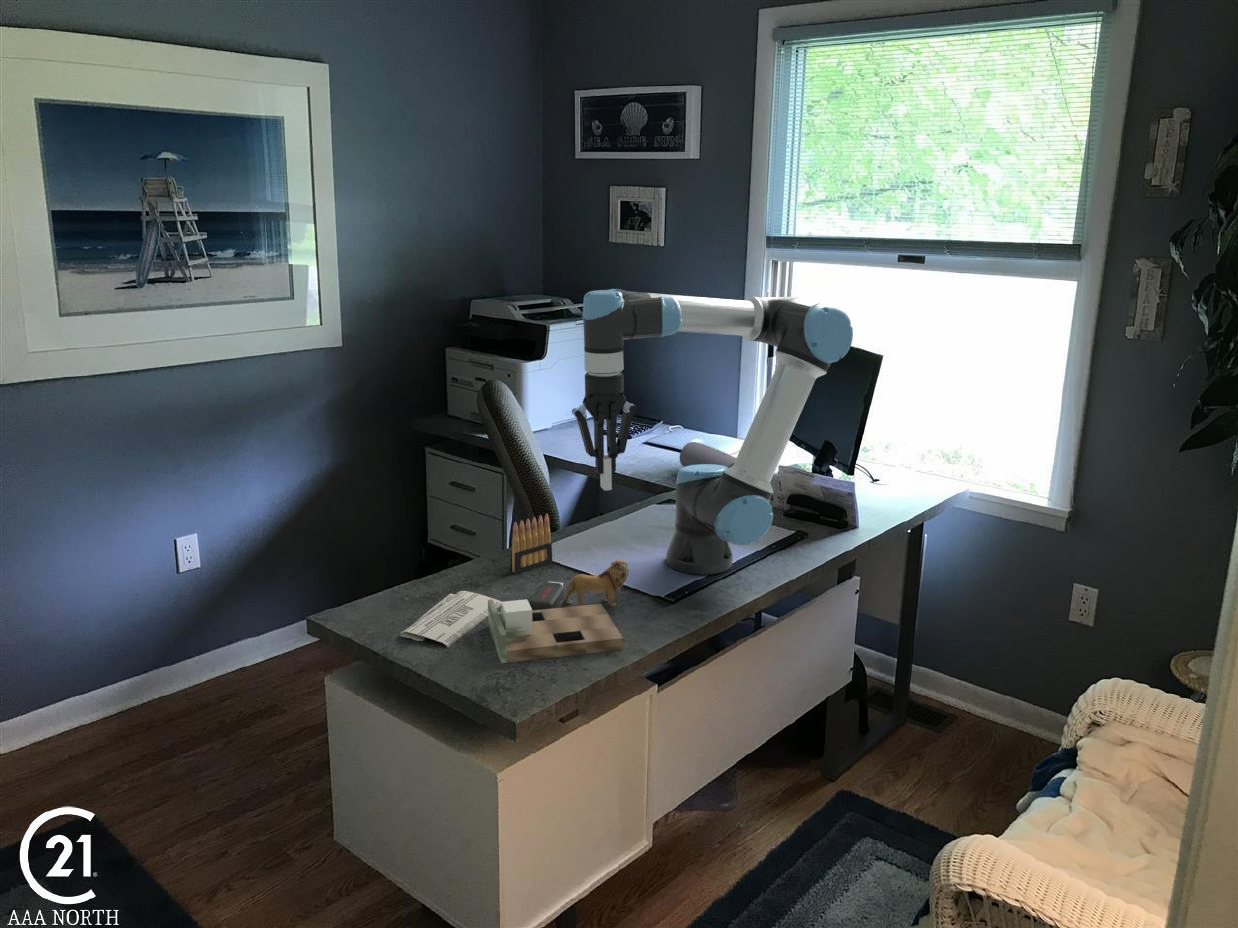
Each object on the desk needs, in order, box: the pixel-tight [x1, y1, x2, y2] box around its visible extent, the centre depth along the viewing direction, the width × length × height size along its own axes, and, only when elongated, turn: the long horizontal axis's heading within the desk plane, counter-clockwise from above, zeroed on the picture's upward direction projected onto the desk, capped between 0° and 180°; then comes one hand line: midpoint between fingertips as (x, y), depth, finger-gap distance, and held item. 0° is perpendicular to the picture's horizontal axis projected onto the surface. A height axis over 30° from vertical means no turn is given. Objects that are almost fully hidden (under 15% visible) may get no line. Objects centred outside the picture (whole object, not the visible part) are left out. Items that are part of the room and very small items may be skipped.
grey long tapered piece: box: [678, 441, 737, 468], centre depth 292 cm, size 23×9×10 cm, turn 30°
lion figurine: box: [560, 559, 630, 607], centre depth 209 cm, size 15×5×9 cm, turn 111°
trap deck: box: [487, 598, 624, 664], centre depth 194 cm, size 23×16×6 cm
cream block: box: [500, 599, 532, 635], centre depth 191 cm, size 5×5×5 cm
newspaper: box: [400, 590, 502, 648], centre depth 201 cm, size 23×12×2 cm, turn 158°
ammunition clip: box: [509, 513, 553, 575], centre depth 227 cm, size 11×2×12 cm, turn 133°
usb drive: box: [528, 580, 564, 611], centre depth 211 cm, size 5×12×3 cm, turn 168°
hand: (606, 488), depth 202 cm, fingers closed
